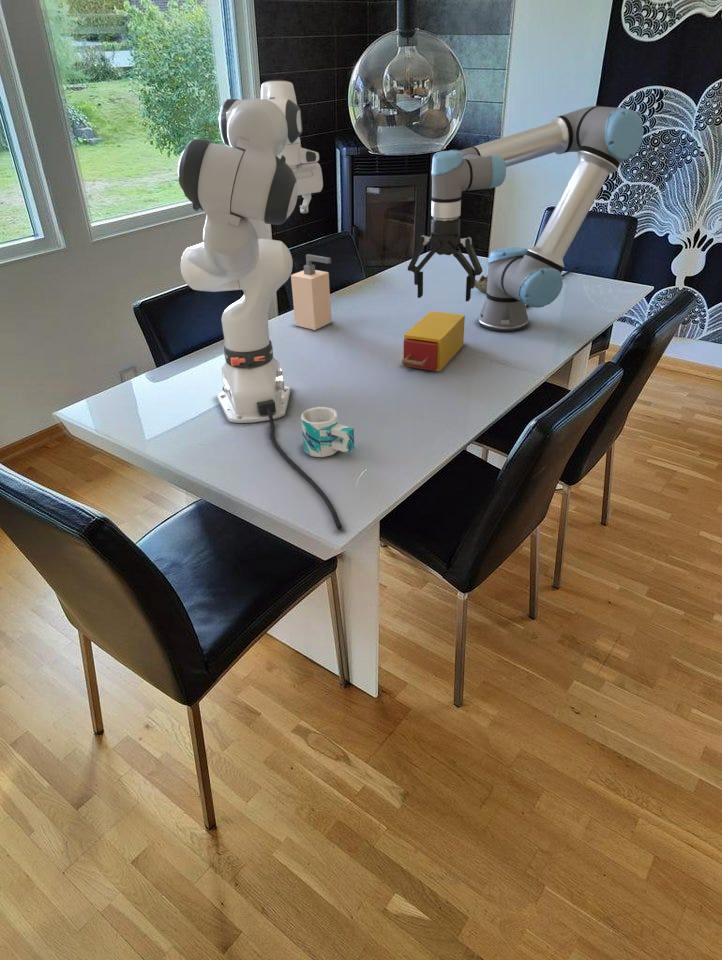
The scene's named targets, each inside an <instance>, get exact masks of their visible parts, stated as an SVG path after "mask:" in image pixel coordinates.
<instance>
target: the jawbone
mask: <svg viewBox="0 0 722 960" xmlns="http://www.w3.org/2000/svg"><path fill="white" fill-rule="evenodd" d="M487 279H488V274H487V275H486V276H485V275H484V274H482V275H481V277H479V279H478V280H477V279H476V278H475V286H474V288H476V289H477V291H479V292H480V293H487Z"/></svg>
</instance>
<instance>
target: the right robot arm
mask: <svg viewBox="0 0 722 960" xmlns="http://www.w3.org/2000/svg"><path fill="white" fill-rule="evenodd" d="M643 139H644V128H643V120H642V118H641V117H640V115H639V114H638V112H636V111H634V110H632V109H628V108H626V107H620V106H619V107H613V106H601V105H591V106H586V107H582V108H580V109H577V110H573V111H570V112H567V113H564V114H562V115H558V116H555V117H553V118H552V119H551V120H550V121H549V123H546V124H543V125H539V126H536V127H532V128H530V129H526V130H523V131H519V132H516V133H513V134H510V135H506V136H503V137H501V138H497V139H493V140H491V141H488V142H485V143H481V144H477V145H474V146H472V147H467V148H463V149H460V150H459V149H449V150H442V151H437V152H436V153H434V154H433V156H432V162H431V172H430V173H431V206H430V207H431V210H430V214H431V215H430V216H431V217H432V218H431V220H430V236H427V235H426V234H422V235H421V236H420V237H418V244H417V248H416V250H415V251H414V254H413V255H412V257H411V260H410V262H409V264H408V266H407V269H406V270H407V271H409V272H412V273H413V284H414V285H415V286H417V299H421V298H422V297H423V295H424V271H422V269H423V268H424V267H425V266H426V264H427V263H428V262H429V260H431V258H433V256H434V255H435V254H437V255H438V256H443V255H445V256H451V255H453V257H454V258H455V259H456V260H457V261H458V262H459V264H460V265H461V267H462V268H463V269H464V271H465V272H466V274H467V276H466V279H465V280H466V282H465V302H469V301H470V300H471V298H472V297H471V296H472V289H474V288H475V287H474V286H475V279H476V276H480V275H481V274H482V273H483V271H484V270H483V267H482V265H481V263H480V261H479V258H478V256H477V253H476V251H475V248H474V246H473V239H472V238H473V237H472V236H467V237H463V238H462V237H461V219H460V216H461V214H462V213H461V207H462V193H463V192H467V191H468V192H469V191H477V190H485V189H489V190H491V189H493V188H498V187H500V186H501V185H503V184H504V182H505V180H506V177H507V168H509V167H511V166H514V165H518V164H521V163H524V162H527V161H531V160H534V159H538V158H541V157H543V156H547V155H551V154H553V153H554V154H556V155H562V154H563V155H564V154H567V153H577V157H578V163H577V164H576V167H575V169H574V171H573V173H572V174H571V176H570V178H569V181H568V183H567V184H566V185H565V188H564V189H563V192H562V194H561V195H560V197H559V200H558V201H557V204H556V206H555V207H554V209H553V210H552V213H551V215H550V217H549V219H548V220H547V223H546V224H545V226H544V228H543V231H542V232H541V234H540V236H539V238H538V240H537V242H536V244H535V245H534V246H532V247H530V248H526V247H503V248H497V249H494V250H491V252H490V253H489V256H488V262H487V275H488V279H487V292H486V296H485V301H484V303H483V306H482V308H481V311H480V314H479V316H478V324H479V326H480V327H482V328H483V329H487V330H488V331H489V330H490V331H494V332H503V333H504V332H516V331H520V330H523V329H525V328H526V327H528V324H529V316H528V311H527V308H529V307H532V308H536V309H537V308H544V307H546V306H548V305H551V304H552V303H553V302H554V301H555V300H556V299H558V297H559V295H560V294H561V291H562V289H563V285H564V283H563V280H564V279H563V277H565V276H566V275H568V274H570V273H573V272H574V270H575V269H576V270H580V268H579V266H576V265H575V266H574V267H572V268H571V269H570V270H568V271H566V272H564V273H563V271H564V269H565V264H564V257H565V256H566V254H567V252H568V251H569V248H570V246H571V245H572V243H573V241H574V239H575V237H576V235H577V233H578V231H579V229H580V228H581V226H582V224H583V222H584V220H585V218H586V216H587V215H588V213H589V211H590V209H591V207H592V206H593V203H594V202H595V200H596V198H597V196H598V194H599V193H600V191H601V189H602V187H603V185H604V183H605V182H606V180H607V178H608V176H609V175H610V174H614V173H616V172H617V170H618V169H619V167H620V166H621V164H622V161H625V160H628V159H630V158H632V157H633V156H635V154H636V153H637V152H638V150H640V147H641V145H642V141H643ZM428 243H429V245H430V246H431V249H430V250H429V252H428V253H427V254H426V255H425V257H424V258H423V259H422V260H421V262H420V263H419V264H418V265H417V262H418V260H419V258H420V256H421V254H422V252H423V250H424V248H425V246H426V245H427V244H428ZM461 244H462V246H463V248H465V250H466V253H467V256H468V258H469V260H470V261H469V260H468V259H467V258H466V257H465V255H464V253H463V252H462V250H461V248H460V247H459V246H460V245H461ZM470 262H471V263H470ZM416 265H417V266H416Z"/></svg>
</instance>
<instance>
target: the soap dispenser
mask: <svg viewBox="0 0 722 960" xmlns="http://www.w3.org/2000/svg"><path fill="white" fill-rule="evenodd" d="M305 262H306V263H305V265H303V270H300V271H298V272H295V273H292V274H291V275H290V281H291V282H290V283H291V292H292V304H293V311H294V312H293V315H294V325H295V326H297V327H301V328H304V329H310V330H313V331H316V330H318V329H320V328H322V327H324V326H326V325H329V324H331V323H333V322H332V306H331V290H330V289H331V288H330V273H329V271H325V270H324V271H323V270H318V269H316V265H315V264H313V263H312V262H317V263H321V264H326V265H327V264H328V265H329V264H332V258H331V257H327V256H322V255H315V254H309V253H307V254H305Z"/></svg>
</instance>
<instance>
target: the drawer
mask: <svg viewBox="0 0 722 960" xmlns="http://www.w3.org/2000/svg"><path fill="white" fill-rule="evenodd" d="M437 343H438V342H430V341H423V340H416V339H410V340H407V339H405V340H404V339H403V358H402V359H401V364H403V366H404V367H407V366H410V367H409V368H414V367H417V368H416V369H420V368H423V370H427V369H430V370H429V371H433V370H436V369H437V352H438V344H437Z"/></svg>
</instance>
